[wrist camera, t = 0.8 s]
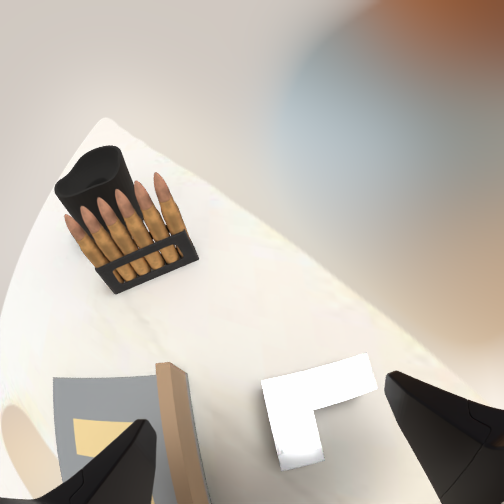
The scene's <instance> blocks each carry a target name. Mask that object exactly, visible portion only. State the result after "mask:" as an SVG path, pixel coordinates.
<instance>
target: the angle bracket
mask: <svg viewBox="0 0 504 504" xmlns="http://www.w3.org/2000/svg"><path fill="white" fill-rule="evenodd" d="M261 382H262V387H263V392H264V396H265V401H266V405H267V410H268V415H269V419H270V424H271V428H272V433H273V437H274V441H275V446H276V450H277V455H278V459H279V463H280V468H281V471H285V470H290V469H294V468H298V467H303V466H307V465H310V464H314V463H318V462H321V461H325V458H324V454H323V450H322V445H321V441H320V437H319V433H318V429H317V425H316V421H315V417H314V413H313V410H315V409H319V408H322V407H326V406H329V405H332V404H336V403H339V402H342V401H345V400H348V399H351V398H354V397H357V396H359V395H362V394H365V393H368V392H370V391H373V390H375V389H378V387H377V384H376V381H375V378H374V374H373V371H372V368H371V365H370V362H369V358H368V355H367V352H366V353H363V354H360V355H357V356H354V357H351V358H348V359H345V360H341V361H338V362H335V363H331V364H328V365H324V366H321V367H317V368H314V369H310V370H306V371H302V372H298V373H294V374H290V375H285V376H281V377H277V378H272V379H267V380H262V381H261Z"/></svg>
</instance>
